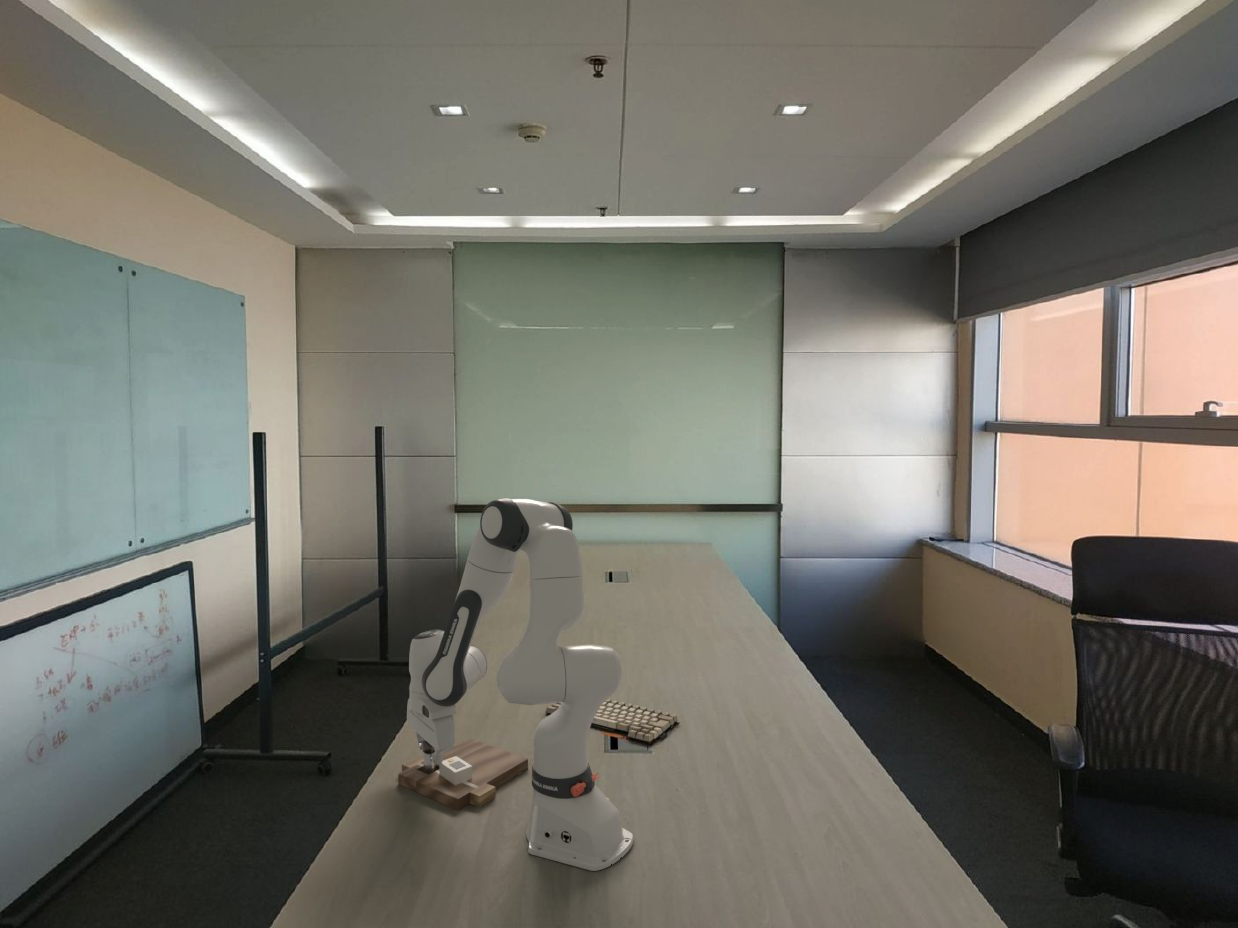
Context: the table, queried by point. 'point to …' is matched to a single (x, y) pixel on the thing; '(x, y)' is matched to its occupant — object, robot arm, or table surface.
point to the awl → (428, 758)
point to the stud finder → (455, 770)
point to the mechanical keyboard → (630, 722)
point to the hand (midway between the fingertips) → (429, 755)
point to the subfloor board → (486, 776)
